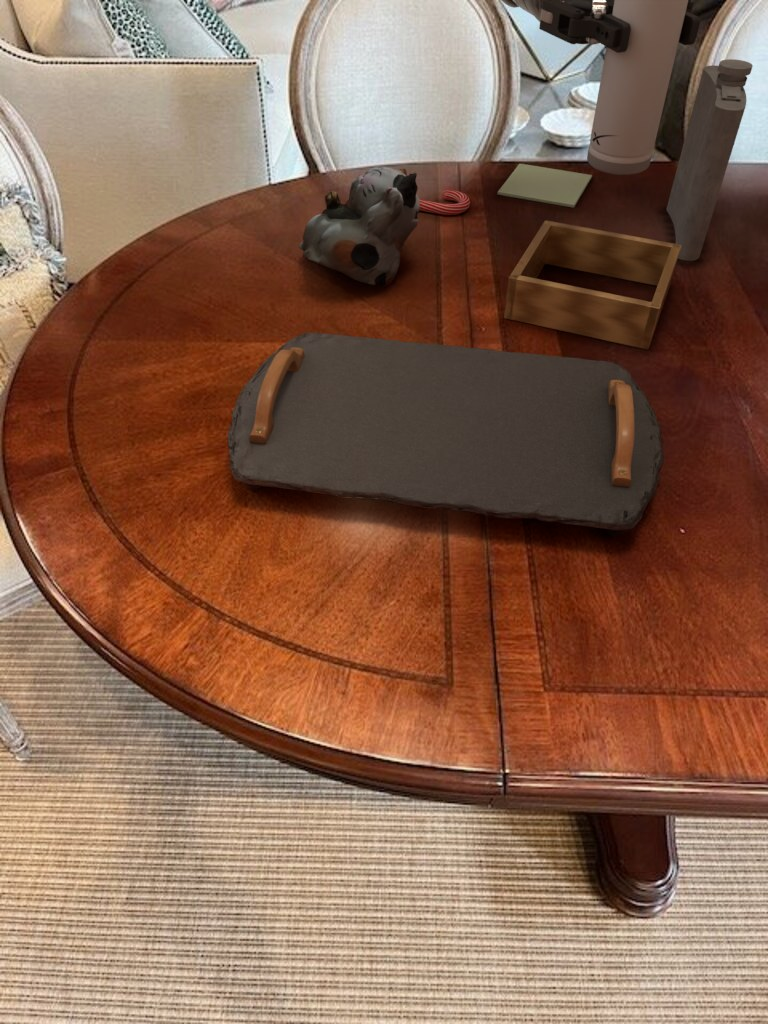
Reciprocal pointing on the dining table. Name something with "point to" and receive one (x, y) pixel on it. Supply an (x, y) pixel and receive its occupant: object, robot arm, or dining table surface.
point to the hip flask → (706, 152)
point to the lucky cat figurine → (365, 226)
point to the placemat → (545, 185)
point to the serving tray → (450, 430)
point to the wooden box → (585, 306)
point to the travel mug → (635, 86)
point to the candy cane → (447, 208)
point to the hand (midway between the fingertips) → (660, 35)
